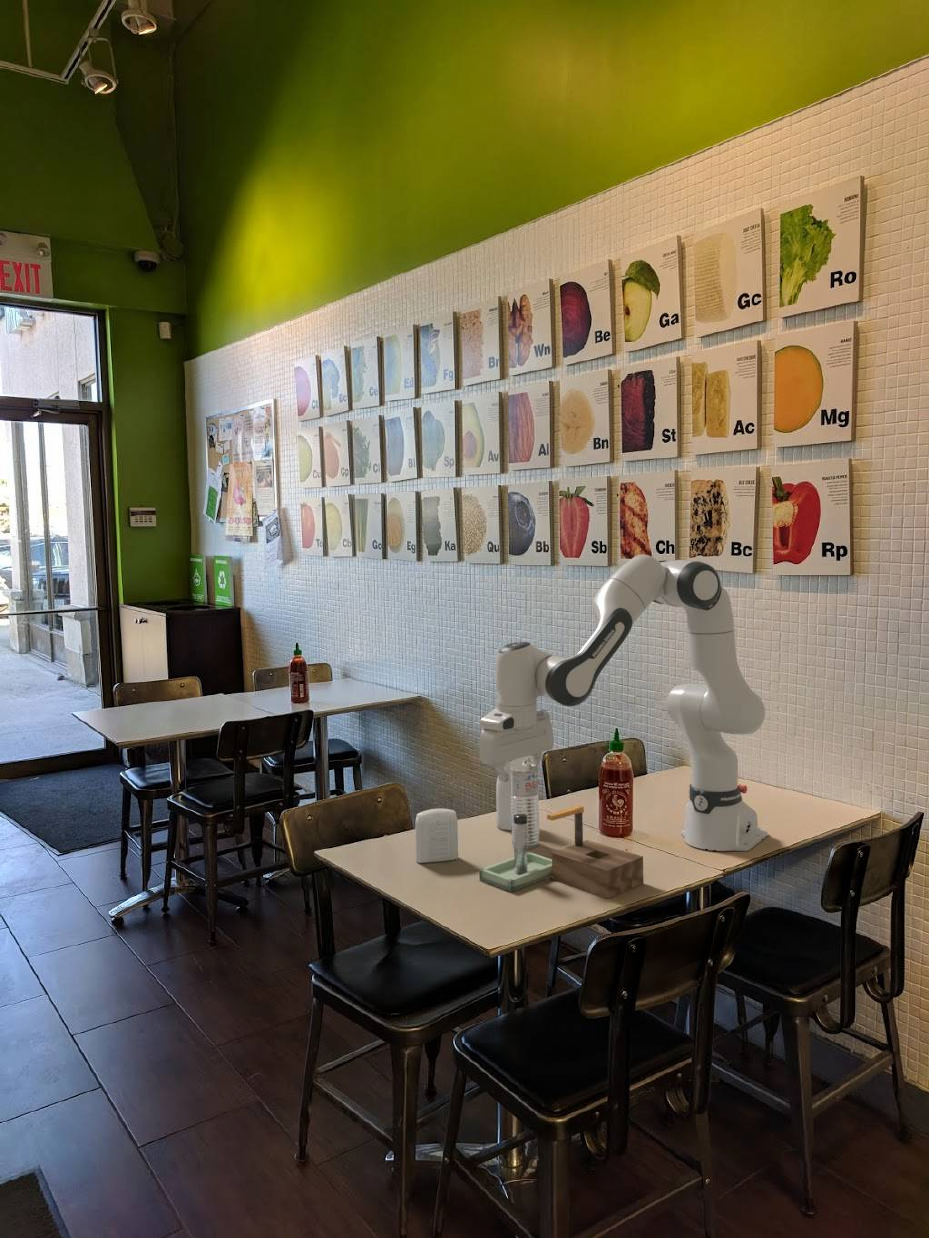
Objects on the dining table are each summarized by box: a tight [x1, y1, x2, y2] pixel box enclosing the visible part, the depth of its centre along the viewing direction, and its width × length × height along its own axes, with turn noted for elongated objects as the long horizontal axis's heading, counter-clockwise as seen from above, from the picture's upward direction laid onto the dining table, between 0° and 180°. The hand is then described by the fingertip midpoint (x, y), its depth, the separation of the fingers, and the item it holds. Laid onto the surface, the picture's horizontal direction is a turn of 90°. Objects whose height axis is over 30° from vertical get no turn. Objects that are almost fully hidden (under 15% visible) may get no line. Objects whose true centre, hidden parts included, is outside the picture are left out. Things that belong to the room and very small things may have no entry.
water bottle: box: [510, 755, 540, 850], centre depth 226 cm, size 7×7×25 cm
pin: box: [513, 814, 529, 875], centre depth 205 cm, size 3×3×13 cm
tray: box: [478, 851, 552, 893], centre depth 206 cm, size 16×10×2 cm, turn 132°
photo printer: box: [414, 808, 459, 864], centre depth 218 cm, size 10×4×12 cm, turn 104°
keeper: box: [546, 805, 585, 821], centre depth 205 cm, size 10×2×1 cm, turn 128°
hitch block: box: [551, 813, 644, 899], centre depth 202 cm, size 12×16×14 cm
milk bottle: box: [495, 760, 512, 832], centre depth 241 cm, size 8×8×20 cm
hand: (519, 776), depth 204 cm, fingers open, 8 cm apart
